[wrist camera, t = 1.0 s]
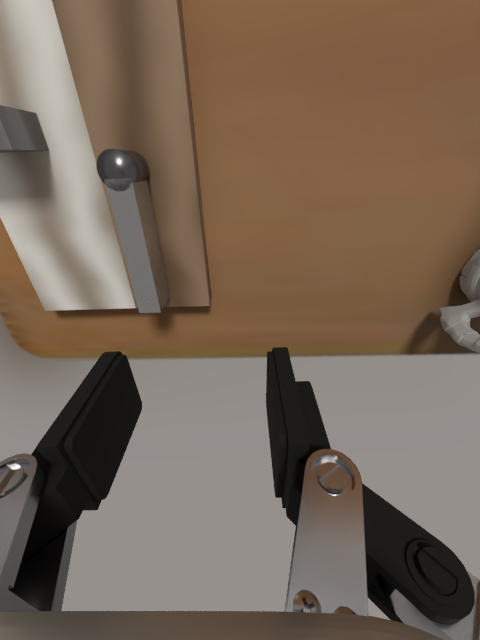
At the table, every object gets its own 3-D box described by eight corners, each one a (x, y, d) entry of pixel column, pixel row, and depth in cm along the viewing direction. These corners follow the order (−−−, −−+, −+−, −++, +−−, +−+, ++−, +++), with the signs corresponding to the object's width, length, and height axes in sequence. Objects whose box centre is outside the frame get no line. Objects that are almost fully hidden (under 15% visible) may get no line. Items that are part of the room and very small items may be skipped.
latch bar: (112, 150, 21) (91, 149, 18) (145, 149, 21) (129, 148, 18) (147, 296, 28) (136, 313, 25) (172, 295, 28) (164, 312, 25)
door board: (176, -48, 17) (148, -135, 12) (211, 297, 30) (205, 326, 25) (-93, -32, 18) (-229, -109, 13) (56, 302, 31) (18, 331, 26)
